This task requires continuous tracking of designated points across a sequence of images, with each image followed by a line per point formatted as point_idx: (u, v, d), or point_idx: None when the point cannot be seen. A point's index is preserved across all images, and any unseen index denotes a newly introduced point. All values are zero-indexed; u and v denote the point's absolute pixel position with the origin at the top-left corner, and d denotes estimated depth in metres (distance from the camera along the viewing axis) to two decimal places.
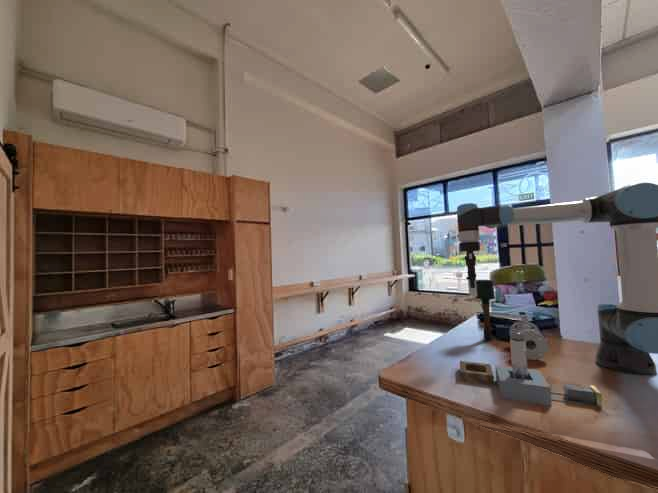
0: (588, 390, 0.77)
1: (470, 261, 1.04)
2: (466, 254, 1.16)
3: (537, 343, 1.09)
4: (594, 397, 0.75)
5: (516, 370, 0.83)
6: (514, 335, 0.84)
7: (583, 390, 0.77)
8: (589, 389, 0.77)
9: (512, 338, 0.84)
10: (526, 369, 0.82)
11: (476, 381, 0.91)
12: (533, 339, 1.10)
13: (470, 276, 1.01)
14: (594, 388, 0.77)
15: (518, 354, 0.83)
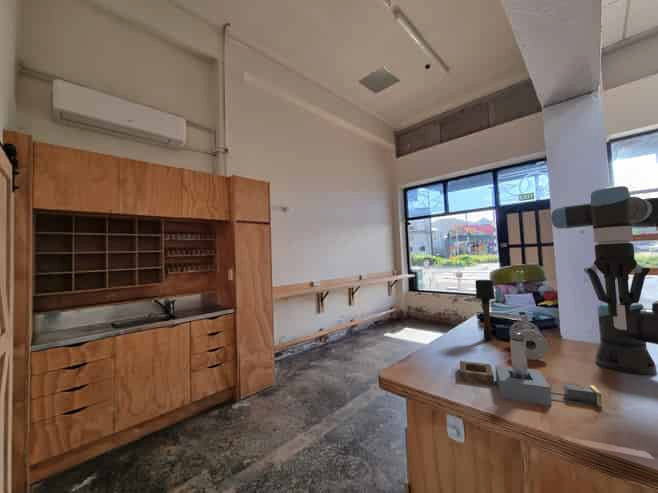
0: (588, 390, 0.77)
1: (591, 279, 0.77)
2: None
3: (537, 343, 1.09)
4: (594, 397, 0.75)
5: (516, 370, 0.83)
6: (514, 335, 0.84)
7: (583, 390, 0.77)
8: (589, 389, 0.77)
9: (512, 338, 0.84)
10: (526, 369, 0.82)
11: (476, 381, 0.91)
12: (533, 339, 1.09)
13: (599, 298, 0.77)
14: (594, 388, 0.77)
15: (518, 354, 0.83)
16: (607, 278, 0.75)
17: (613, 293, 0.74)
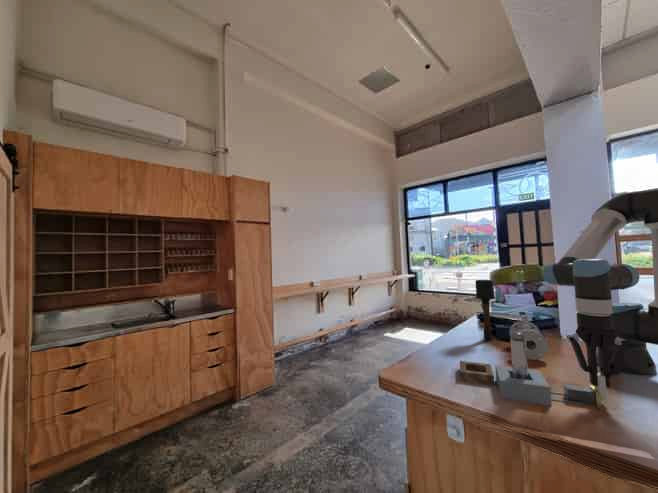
0: (588, 390, 0.77)
1: (573, 347, 0.79)
2: None
3: (537, 343, 1.09)
4: (594, 397, 0.75)
5: (516, 370, 0.83)
6: (515, 335, 0.84)
7: (582, 390, 0.77)
8: (589, 389, 0.77)
9: (512, 338, 0.84)
10: (526, 369, 0.82)
11: (476, 381, 0.91)
12: (533, 339, 1.09)
13: (581, 366, 0.78)
14: (594, 388, 0.77)
15: (518, 354, 0.83)
16: (588, 347, 0.77)
17: (594, 363, 0.76)
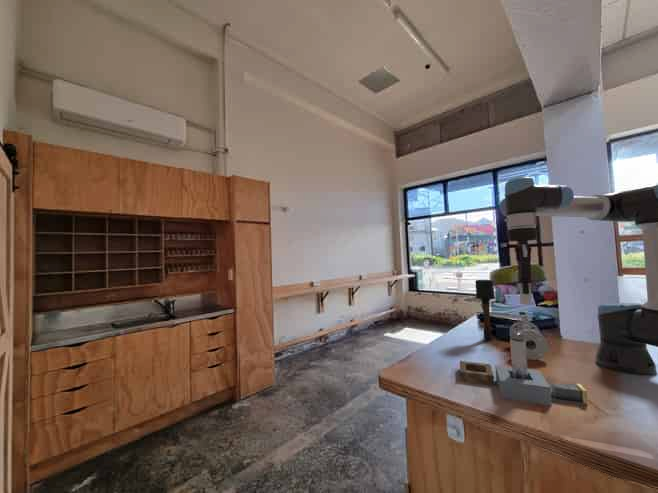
0: (574, 388, 0.78)
1: (524, 261, 0.80)
2: None
3: (537, 343, 1.09)
4: (580, 395, 0.77)
5: (516, 370, 0.83)
6: (514, 335, 0.84)
7: (569, 389, 0.78)
8: (575, 387, 0.78)
9: (512, 338, 0.84)
10: (526, 369, 0.82)
11: (476, 381, 0.91)
12: (533, 339, 1.10)
13: (523, 279, 0.81)
14: (580, 386, 0.78)
15: (518, 354, 0.83)
16: None
17: None
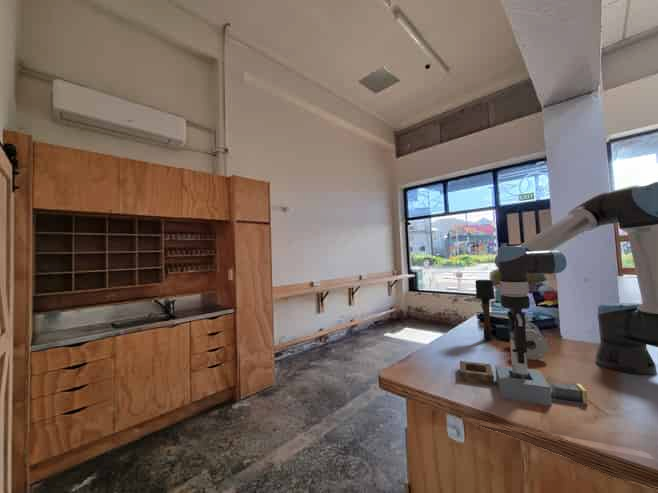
0: (574, 388, 0.78)
1: (520, 330, 0.79)
2: (508, 312, 0.91)
3: (537, 343, 1.09)
4: (580, 395, 0.77)
5: None
6: None
7: (569, 389, 0.78)
8: (575, 387, 0.78)
9: (512, 338, 0.84)
10: None
11: (476, 381, 0.91)
12: (533, 339, 1.10)
13: (519, 350, 0.80)
14: (580, 386, 0.78)
15: None
16: None
17: None
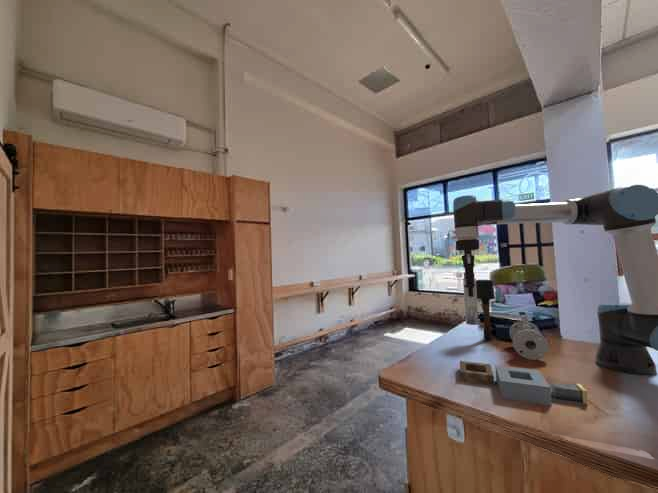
0: (574, 388, 0.78)
1: (468, 267, 0.92)
2: None
3: (537, 343, 1.09)
4: (580, 395, 0.77)
5: None
6: None
7: (569, 389, 0.78)
8: (575, 387, 0.78)
9: (464, 277, 0.97)
10: None
11: (476, 381, 0.91)
12: (533, 339, 1.10)
13: (468, 284, 0.92)
14: (580, 386, 0.78)
15: None
16: None
17: None
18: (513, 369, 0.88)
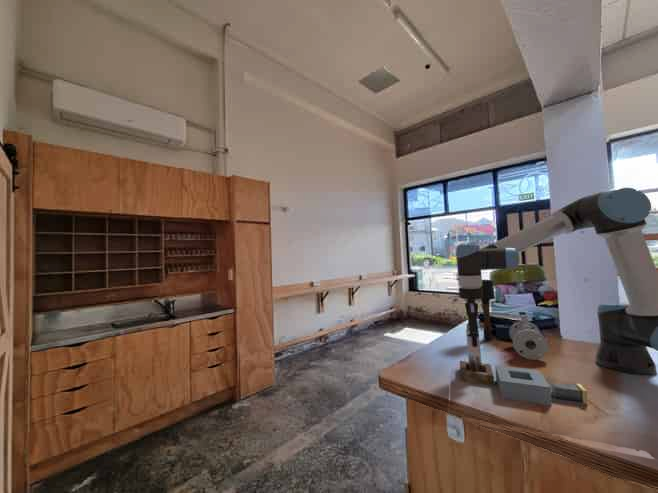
0: (574, 388, 0.78)
1: (472, 316, 0.90)
2: None
3: (537, 343, 1.09)
4: (580, 395, 0.77)
5: (471, 357, 0.95)
6: None
7: (569, 389, 0.78)
8: (575, 387, 0.78)
9: (467, 329, 0.96)
10: (479, 356, 0.94)
11: (476, 381, 0.91)
12: (533, 339, 1.10)
13: (472, 334, 0.89)
14: (580, 386, 0.78)
15: None
16: None
17: None
18: (513, 369, 0.88)
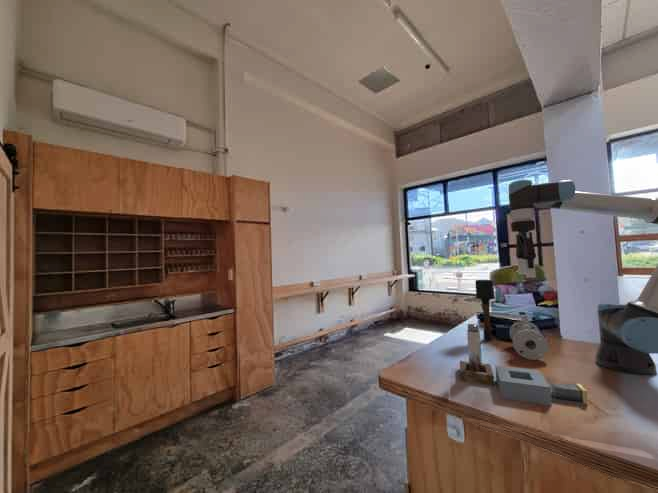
0: (574, 388, 0.78)
1: (528, 240, 0.97)
2: (516, 235, 1.10)
3: (537, 343, 1.09)
4: (580, 395, 0.77)
5: (471, 358, 0.95)
6: (470, 327, 0.95)
7: (569, 389, 0.78)
8: (575, 387, 0.78)
9: (468, 329, 0.96)
10: (480, 356, 0.94)
11: (476, 381, 0.91)
12: (533, 339, 1.09)
13: (529, 255, 0.95)
14: (580, 386, 0.78)
15: (473, 343, 0.94)
16: None
17: None
18: (513, 369, 0.88)
